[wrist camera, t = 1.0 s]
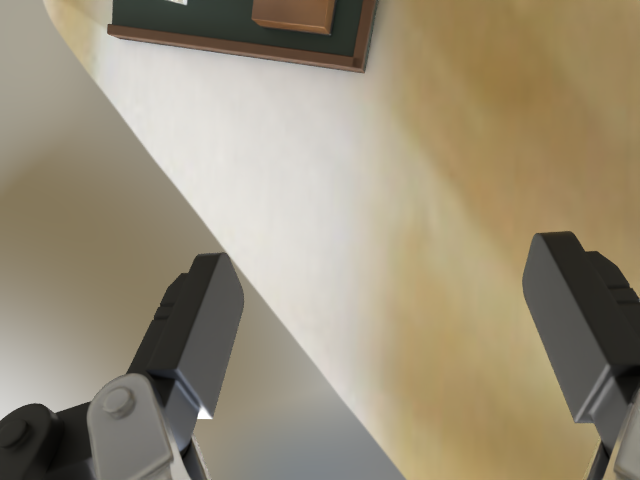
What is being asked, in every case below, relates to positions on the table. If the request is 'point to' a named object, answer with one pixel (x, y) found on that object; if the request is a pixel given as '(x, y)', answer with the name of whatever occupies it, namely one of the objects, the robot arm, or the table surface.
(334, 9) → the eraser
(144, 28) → the board
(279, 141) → the table surface
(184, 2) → the white rectangular block
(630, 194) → the table surface
